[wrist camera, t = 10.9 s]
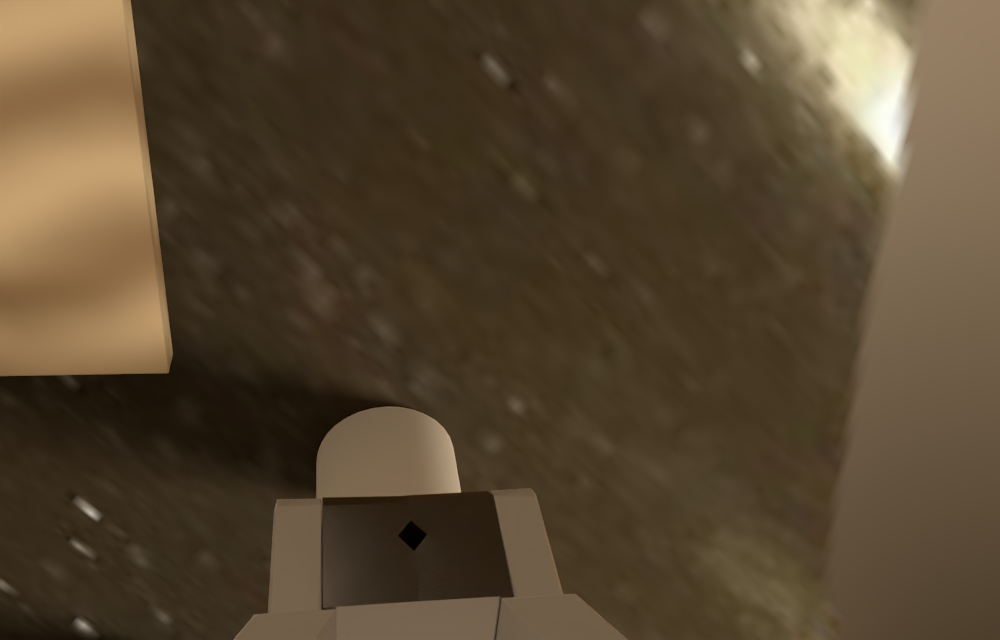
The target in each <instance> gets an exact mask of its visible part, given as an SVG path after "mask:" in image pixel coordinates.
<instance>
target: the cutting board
mask: <svg viewBox="0 0 1000 640" xmlns="http://www.w3.org/2000/svg"><path fill="white" fill-rule="evenodd" d="M172 356H173V350H172V342H171V334H170V325H169V317H168V309H167V300H166V292H165V284H164V275H163V267H162V259H161V250H160V242H159V234H158V225H157V217H156V209H155V200H154V192H153V183H152V175H151V167H150V158H149V150H148V142H147V133H146V125H145V117H144V108H143V100H142V92H141V83H140V75H139V67H138V58H137V50H136V42H135V33H134V25H133V17H132V8H131V0H0V376H35V375H92V374H148V373H169V369H170V364H171V360H172Z"/></svg>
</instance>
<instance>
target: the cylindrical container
mask: <svg viewBox="0 0 1000 640" xmlns="http://www.w3.org/2000/svg"><path fill="white" fill-rule="evenodd" d="M442 493H461V490H460V484H459V478H458V472H457V466H456V460H455V454H454V449H453V445H452V442H451V439H450V437H449V435H448V434H447V432H446V430H445V429H444V428H443V427H442V426H441V425H440V424H439V423H438V422H437V421H436V420H434V419H433V418H431V417H429V416H428V415H426V414H424V413H421V412H419V411H416V410H413V409H408V408H404V407H390V406H387V407H377V408H371V409H367V410H364V411H360V412H357V413H355V414H353V415H351V416H349V417H347V418H345V419H344V420H342V421H341V422H339V423H338V424H336V425H335V426H334V427H333V428H332V429H331V430H330V431H329V432H328V433H327V434H326V436H325V438H324V439H323V441H322V442H321V444H320V447H319V450H318V453H317V462H316V499H321V504H322V498H323V497H373V496H406V495H423V494H442Z"/></svg>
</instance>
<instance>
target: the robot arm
mask: <svg viewBox="0 0 1000 640" xmlns="http://www.w3.org/2000/svg"><path fill="white" fill-rule="evenodd" d="M234 640H627V639H626V638H625V637H624V636H623V635H622V634H621V633H619V632H618V631H617V630H616V629H615V628H614V627H613V626H612V625H610V624H609V623H608V622H607V621H606V620H605V619H604V618H602V617H601V616H600V615H599V614H598V613H597V612H596V611H594V610H593V609H592V608H591V607H590V606H589V605H588V604H586V603H585V602H584V601H583V600H582V599H581V598H580V597H579V596H577V595H576V594H563V592H562V588H561V585H560V581H559V577H558V574H557V570H556V566H555V563H554V559H553V555H552V552H551V548H550V544H549V541H548V537H547V533H546V530H545V526H544V522H543V519H542V515H541V511H540V508H539V504H538V500H537V497H536V494H535V493H534V492H533V490H532V489H531V488H529V489H512V490H494V491H490V492H488V491H480V492H461V493H442V494H423V495H406V496H373V497H323V498H322V504H321V499H277V502H276V505H275V509H274V522H273V539H272V555H271V572H270V588H269V605H268V613H266V614H254V616H253V617H252V618H251V619H250V620H249V622H248V623H247V624H246V625H245V626H244V628H243V629H242V630H241V631H240V632H239V634H238V635H237V636H236V637H235V638H234Z"/></svg>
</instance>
